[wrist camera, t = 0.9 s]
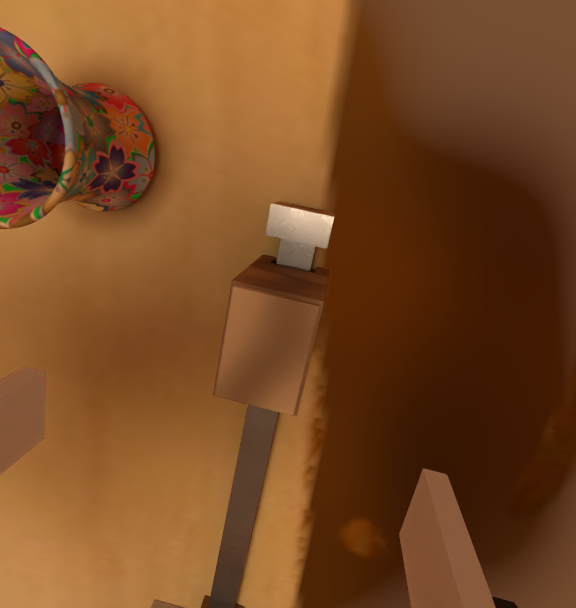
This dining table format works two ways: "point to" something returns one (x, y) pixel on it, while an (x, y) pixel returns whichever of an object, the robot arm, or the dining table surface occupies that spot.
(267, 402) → the block
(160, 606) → the knob base
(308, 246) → the rail
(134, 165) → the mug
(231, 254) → the dining table surface
